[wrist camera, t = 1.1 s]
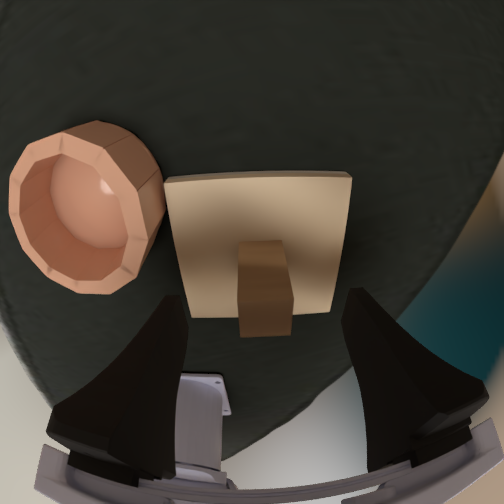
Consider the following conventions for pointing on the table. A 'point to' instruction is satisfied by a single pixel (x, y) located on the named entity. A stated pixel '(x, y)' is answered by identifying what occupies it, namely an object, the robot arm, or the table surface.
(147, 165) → the bowl
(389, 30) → the table surface
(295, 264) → the board
